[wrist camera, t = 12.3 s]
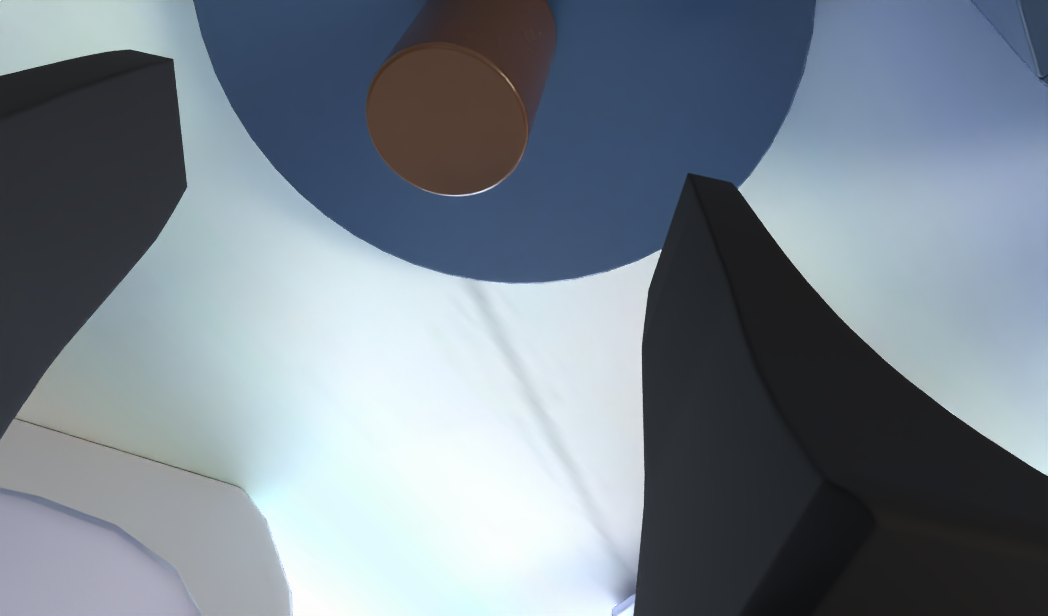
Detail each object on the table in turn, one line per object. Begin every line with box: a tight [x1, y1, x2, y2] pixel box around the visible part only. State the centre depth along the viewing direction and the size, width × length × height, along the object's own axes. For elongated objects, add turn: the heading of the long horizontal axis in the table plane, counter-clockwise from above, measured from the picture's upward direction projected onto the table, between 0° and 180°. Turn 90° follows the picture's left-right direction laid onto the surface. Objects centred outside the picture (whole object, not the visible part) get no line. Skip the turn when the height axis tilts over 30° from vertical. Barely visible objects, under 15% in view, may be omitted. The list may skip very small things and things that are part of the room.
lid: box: [193, 0, 816, 284], centre depth 15 cm, size 12×12×5 cm
